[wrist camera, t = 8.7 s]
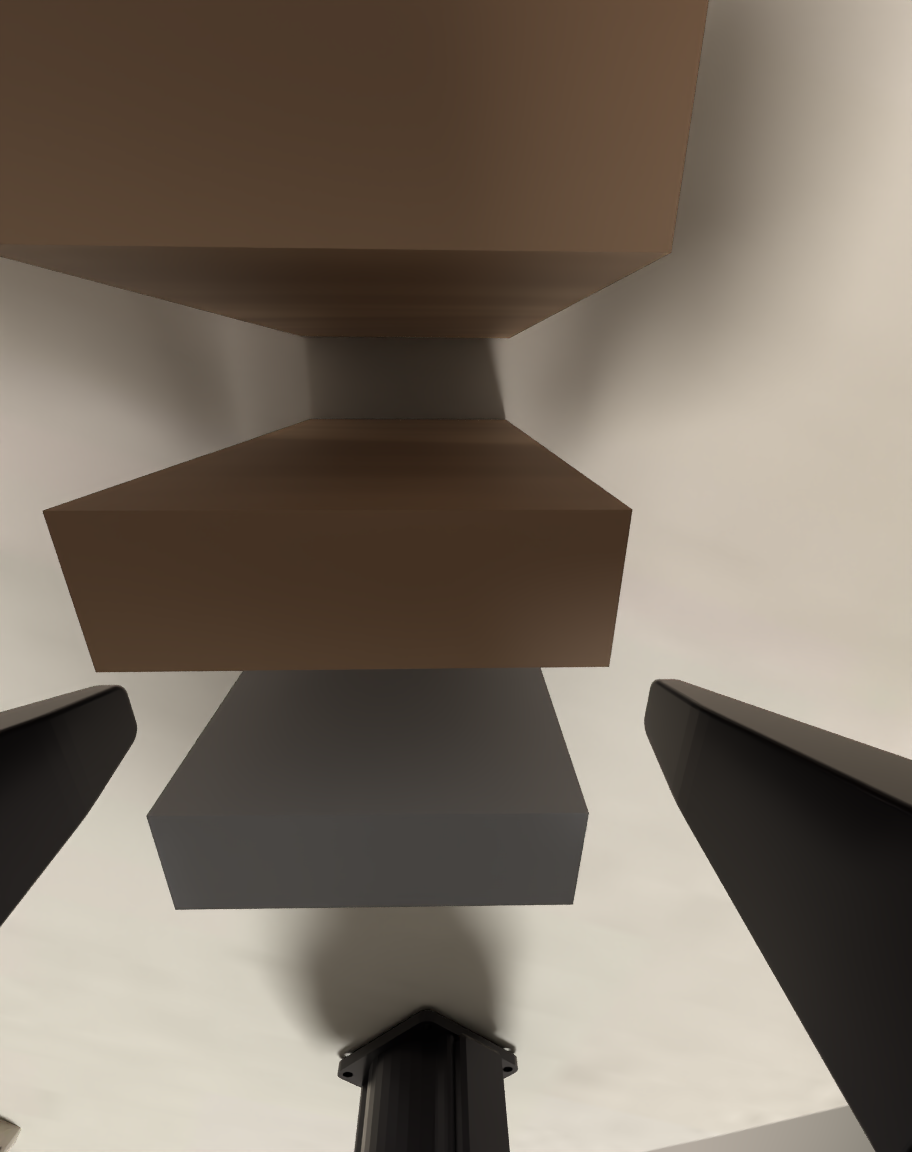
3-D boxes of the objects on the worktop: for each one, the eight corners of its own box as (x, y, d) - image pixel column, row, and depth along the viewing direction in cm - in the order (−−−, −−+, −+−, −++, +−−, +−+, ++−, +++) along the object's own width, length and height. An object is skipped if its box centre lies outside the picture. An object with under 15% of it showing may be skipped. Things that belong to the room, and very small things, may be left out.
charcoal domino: (497, 600, 14) (572, 904, 6) (329, 598, 14) (175, 909, 6) (500, 549, 14) (589, 813, 6) (325, 547, 14) (146, 816, 5)
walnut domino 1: (509, 338, 12) (671, 252, 3) (301, 336, 12) (-48, 244, 3) (512, 260, 11) (719, -67, 3) (293, 257, 11) (-161, -96, 3)
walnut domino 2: (503, 481, 13) (608, 666, 5) (317, 481, 13) (95, 672, 5) (505, 419, 12) (631, 510, 4) (310, 419, 12) (42, 510, 4)
